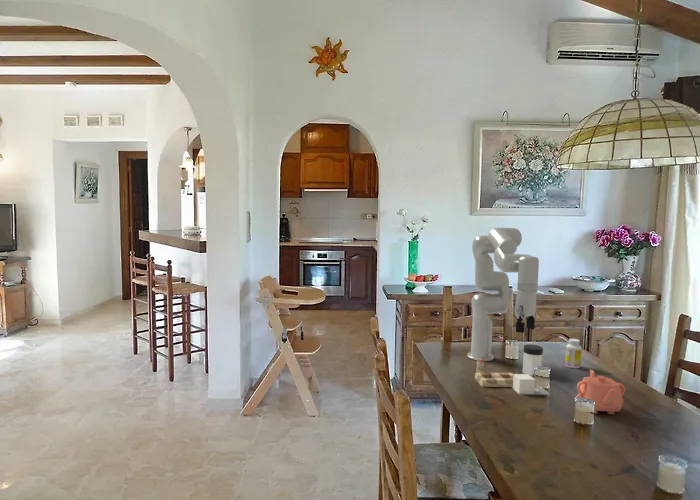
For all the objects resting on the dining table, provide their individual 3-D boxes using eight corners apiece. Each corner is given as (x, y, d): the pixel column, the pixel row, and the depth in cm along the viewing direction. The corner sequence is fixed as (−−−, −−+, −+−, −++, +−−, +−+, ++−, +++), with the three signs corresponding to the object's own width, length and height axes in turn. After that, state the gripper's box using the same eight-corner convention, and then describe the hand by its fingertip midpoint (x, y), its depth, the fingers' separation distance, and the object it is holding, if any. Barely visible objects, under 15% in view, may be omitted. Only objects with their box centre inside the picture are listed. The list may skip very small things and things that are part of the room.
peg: (474, 376, 223) (475, 358, 222) (482, 376, 223) (483, 358, 222) (477, 378, 219) (478, 360, 218) (484, 378, 220) (485, 360, 219)
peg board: (474, 379, 218) (475, 372, 218) (511, 379, 220) (511, 372, 219) (482, 387, 209) (482, 380, 209) (519, 387, 211) (520, 380, 210)
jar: (545, 374, 228) (547, 347, 227) (535, 377, 223) (537, 350, 222) (527, 368, 235) (529, 343, 234) (517, 371, 230) (519, 345, 229)
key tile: (510, 387, 210) (511, 377, 209) (541, 387, 211) (542, 377, 211) (518, 395, 202) (519, 384, 202) (550, 395, 203) (551, 384, 203)
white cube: (512, 387, 209) (513, 374, 208) (527, 387, 210) (528, 374, 209) (518, 393, 203) (519, 379, 202) (534, 393, 203) (535, 379, 203)
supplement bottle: (581, 366, 241) (583, 339, 240) (579, 369, 236) (581, 342, 234) (566, 363, 245) (568, 337, 244) (563, 367, 239) (565, 340, 238)
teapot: (588, 398, 201) (590, 367, 200) (632, 412, 188) (634, 379, 187) (567, 406, 192) (570, 373, 191) (612, 422, 179) (615, 387, 178)
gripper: (527, 284, 210) (525, 325, 211) (508, 288, 197) (506, 332, 198) (545, 286, 205) (543, 328, 206) (527, 290, 192) (525, 335, 193)
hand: (525, 330), depth 202 cm, fingers open, 9 cm apart
